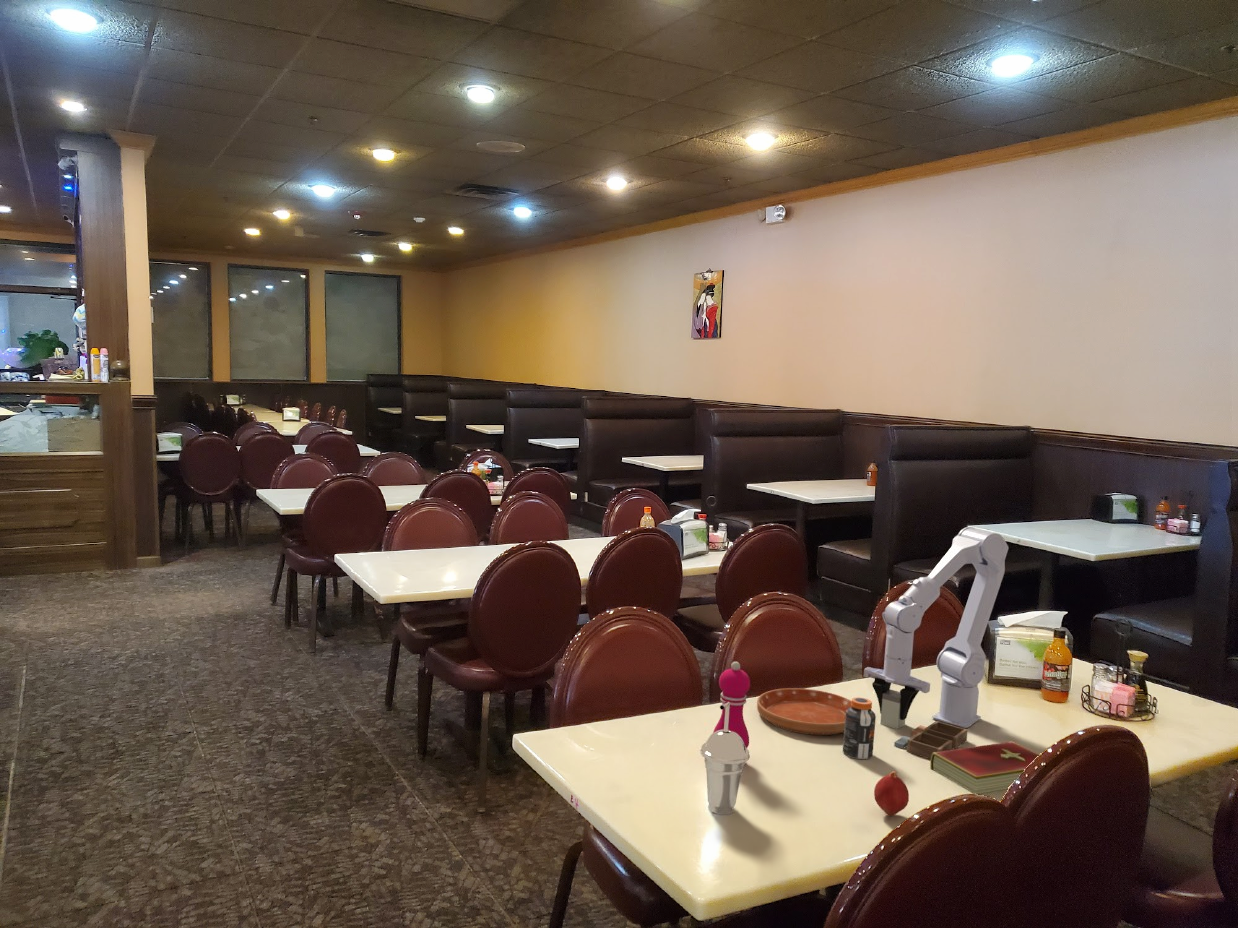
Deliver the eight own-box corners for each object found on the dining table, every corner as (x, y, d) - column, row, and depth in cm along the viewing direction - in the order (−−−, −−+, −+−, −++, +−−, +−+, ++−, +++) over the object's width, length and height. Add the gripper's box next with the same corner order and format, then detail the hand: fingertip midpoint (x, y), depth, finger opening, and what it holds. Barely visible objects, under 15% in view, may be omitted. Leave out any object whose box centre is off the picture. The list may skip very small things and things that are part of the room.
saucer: (758, 734, 191) (759, 717, 191) (754, 698, 214) (755, 683, 213) (868, 745, 188) (869, 728, 188) (852, 707, 211) (854, 692, 211)
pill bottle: (873, 761, 179) (878, 706, 178) (843, 757, 181) (847, 702, 180) (871, 750, 185) (875, 696, 184) (841, 746, 186) (846, 693, 185)
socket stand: (921, 727, 200) (922, 716, 199) (966, 740, 193) (967, 729, 193) (892, 746, 188) (893, 735, 187) (939, 761, 181) (940, 749, 181)
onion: (867, 806, 159) (871, 763, 159) (899, 807, 160) (902, 764, 159) (879, 822, 153) (883, 777, 153) (912, 823, 154) (916, 778, 153)
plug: (887, 719, 204) (890, 689, 203) (904, 724, 201) (907, 693, 201) (880, 723, 201) (882, 693, 200) (897, 728, 198) (900, 697, 198)
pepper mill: (750, 757, 178) (757, 659, 176) (743, 772, 171) (750, 669, 169) (715, 751, 180) (721, 653, 178) (706, 764, 173) (713, 663, 172)
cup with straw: (755, 810, 156) (763, 698, 154) (723, 825, 149) (731, 709, 148) (717, 792, 162) (725, 684, 160) (684, 807, 155) (691, 694, 154)
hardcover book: (929, 770, 178) (931, 750, 177) (1009, 758, 186) (1011, 739, 185) (974, 797, 167) (977, 775, 166) (1057, 783, 175) (1059, 762, 174)
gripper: (859, 652, 201) (855, 710, 202) (923, 667, 192) (917, 729, 193) (873, 646, 207) (868, 703, 208) (935, 661, 197) (930, 721, 198)
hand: (893, 715), depth 201 cm, fingers closed on plug, 4 cm apart
